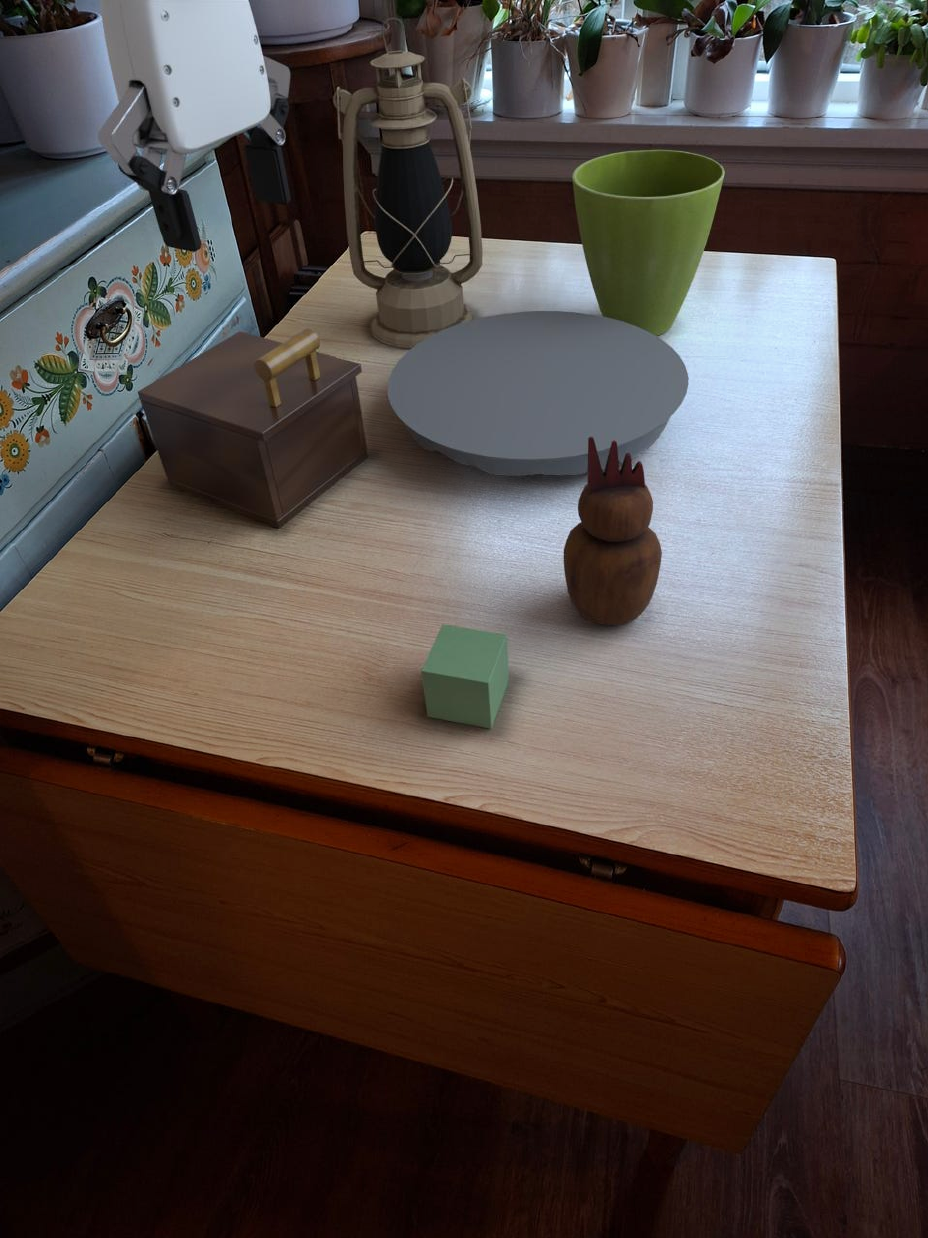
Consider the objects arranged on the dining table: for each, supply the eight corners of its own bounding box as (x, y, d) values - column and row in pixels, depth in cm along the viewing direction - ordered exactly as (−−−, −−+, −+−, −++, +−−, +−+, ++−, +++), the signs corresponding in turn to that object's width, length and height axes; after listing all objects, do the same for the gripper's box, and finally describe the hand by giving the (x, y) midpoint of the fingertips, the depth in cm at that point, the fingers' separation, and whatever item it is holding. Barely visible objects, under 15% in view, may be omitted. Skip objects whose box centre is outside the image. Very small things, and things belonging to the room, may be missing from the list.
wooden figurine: (555, 628, 66) (557, 453, 56) (572, 578, 70) (576, 406, 60) (648, 643, 65) (667, 465, 55) (660, 591, 69) (680, 416, 59)
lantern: (484, 298, 109) (469, -1, 88) (487, 343, 100) (473, 24, 80) (363, 306, 109) (321, 11, 89) (357, 352, 101) (309, 36, 80)
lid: (362, 372, 79) (354, 316, 75) (264, 442, 71) (250, 384, 68) (241, 338, 85) (228, 286, 81) (139, 399, 77) (120, 345, 74)
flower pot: (547, 340, 100) (547, 187, 89) (601, 287, 109) (607, 143, 98) (678, 365, 94) (695, 205, 83) (723, 307, 103) (744, 156, 92)
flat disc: (345, 476, 83) (337, 434, 80) (451, 338, 102) (448, 300, 98) (651, 525, 75) (655, 480, 72) (705, 365, 93) (710, 325, 90)
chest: (368, 456, 85) (355, 370, 79) (279, 528, 78) (256, 440, 72) (261, 421, 91) (241, 339, 85) (169, 485, 83) (139, 400, 77)
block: (427, 717, 61) (421, 670, 58) (447, 669, 64) (442, 623, 61) (491, 729, 60) (488, 683, 57) (509, 680, 63) (507, 634, 60)
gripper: (215, -84, 62) (268, 180, 74) (6, -39, 52) (107, 259, 64) (299, -85, 59) (341, 191, 71) (95, -37, 49) (183, 276, 60)
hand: (230, 223), depth 67 cm, fingers open, 9 cm apart
